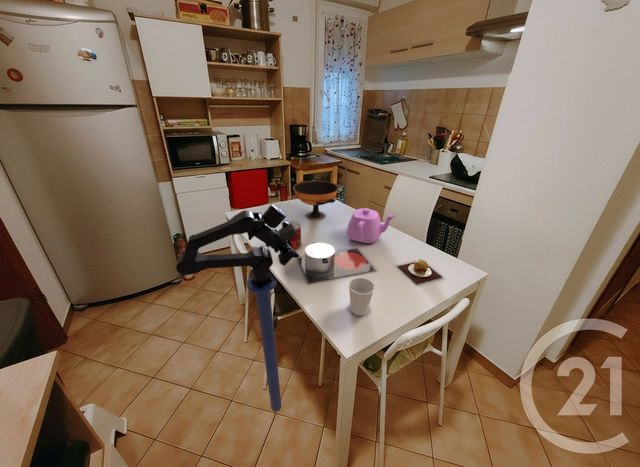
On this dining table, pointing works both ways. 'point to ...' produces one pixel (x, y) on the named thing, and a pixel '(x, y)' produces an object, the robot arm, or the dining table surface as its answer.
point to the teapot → (366, 225)
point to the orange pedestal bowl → (316, 195)
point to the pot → (319, 258)
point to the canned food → (297, 239)
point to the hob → (341, 266)
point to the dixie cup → (360, 295)
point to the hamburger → (419, 271)
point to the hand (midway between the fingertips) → (298, 256)
